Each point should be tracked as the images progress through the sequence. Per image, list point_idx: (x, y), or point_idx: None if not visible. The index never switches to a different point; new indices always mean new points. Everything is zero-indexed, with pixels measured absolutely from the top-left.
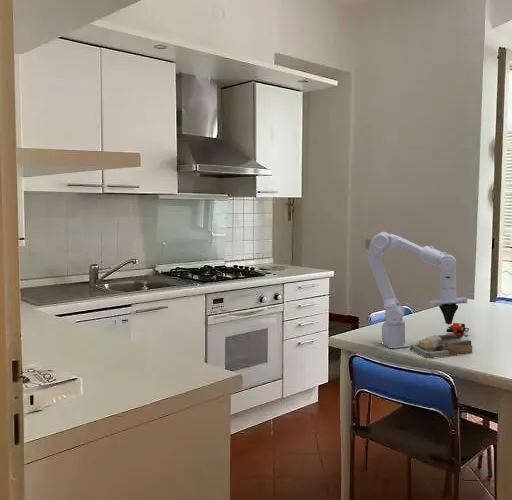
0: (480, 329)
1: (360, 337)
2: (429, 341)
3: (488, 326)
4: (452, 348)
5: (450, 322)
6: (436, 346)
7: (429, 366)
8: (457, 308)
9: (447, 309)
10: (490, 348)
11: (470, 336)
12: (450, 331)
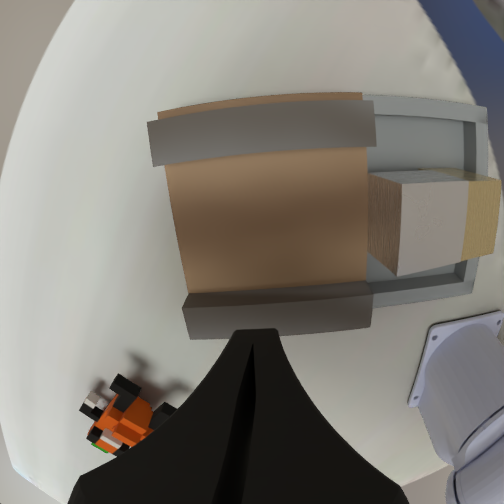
0: (50, 413)
1: None
2: (476, 185)
3: (31, 418)
4: (329, 94)
5: (252, 339)
6: (413, 172)
7: (491, 18)
8: (93, 472)
9: (369, 486)
10: (51, 192)
11: (87, 378)
12: (168, 407)
